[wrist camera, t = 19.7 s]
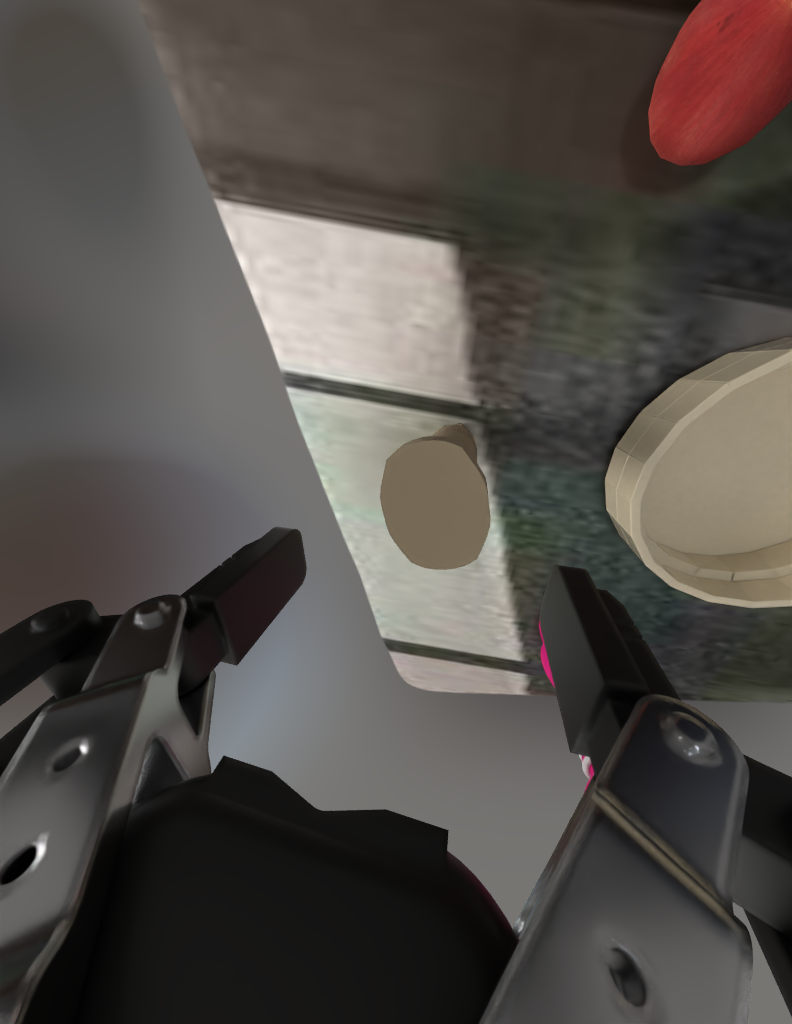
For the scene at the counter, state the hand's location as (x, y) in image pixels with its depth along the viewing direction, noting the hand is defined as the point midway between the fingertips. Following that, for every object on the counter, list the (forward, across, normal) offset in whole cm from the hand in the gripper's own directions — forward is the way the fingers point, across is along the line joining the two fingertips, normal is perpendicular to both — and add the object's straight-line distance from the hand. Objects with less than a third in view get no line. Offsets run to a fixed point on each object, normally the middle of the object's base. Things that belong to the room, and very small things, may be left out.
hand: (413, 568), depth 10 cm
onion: (+20, -11, -18) cm, 29 cm away
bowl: (+20, -21, +1) cm, 29 cm away
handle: (+20, 0, 0) cm, 20 cm away
